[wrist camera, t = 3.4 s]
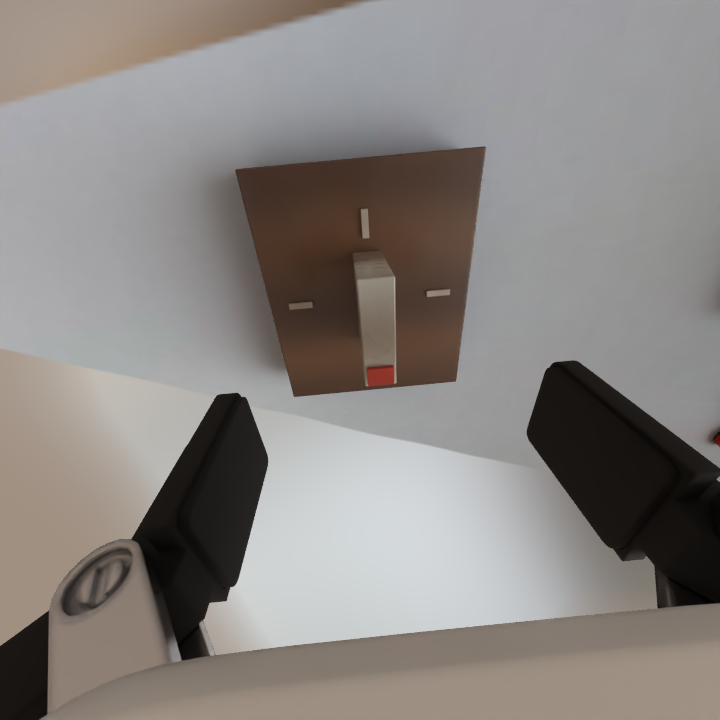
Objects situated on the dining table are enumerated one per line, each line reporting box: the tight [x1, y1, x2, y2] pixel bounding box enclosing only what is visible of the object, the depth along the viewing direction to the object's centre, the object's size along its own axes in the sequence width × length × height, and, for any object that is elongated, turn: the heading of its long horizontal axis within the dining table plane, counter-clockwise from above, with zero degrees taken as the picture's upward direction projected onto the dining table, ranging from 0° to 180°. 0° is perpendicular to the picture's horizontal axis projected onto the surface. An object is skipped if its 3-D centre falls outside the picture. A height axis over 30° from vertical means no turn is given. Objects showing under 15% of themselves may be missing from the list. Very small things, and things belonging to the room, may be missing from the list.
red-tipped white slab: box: [353, 251, 396, 386], centre depth 15 cm, size 6×2×5 cm, turn 4°
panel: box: [235, 147, 486, 397], centre depth 19 cm, size 14×12×3 cm
